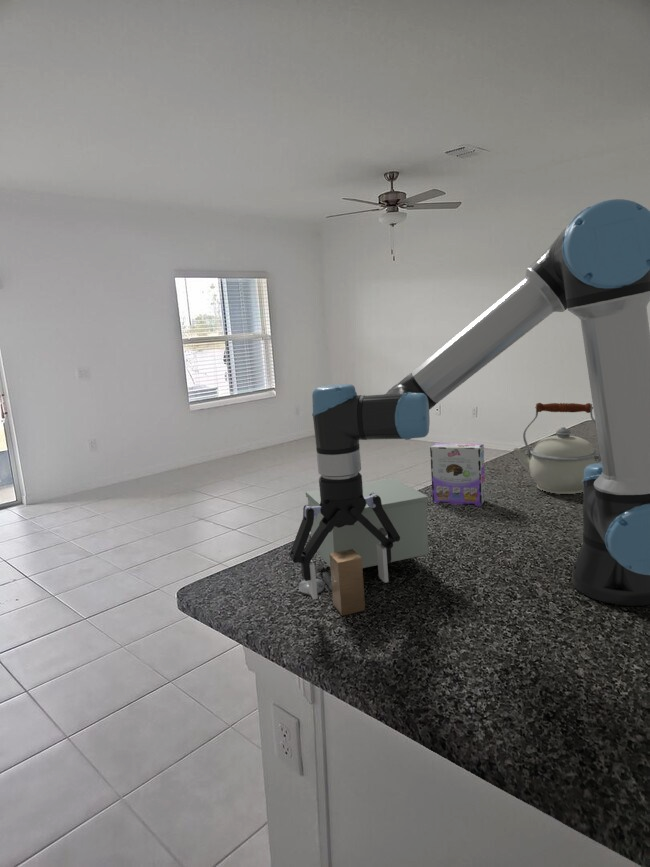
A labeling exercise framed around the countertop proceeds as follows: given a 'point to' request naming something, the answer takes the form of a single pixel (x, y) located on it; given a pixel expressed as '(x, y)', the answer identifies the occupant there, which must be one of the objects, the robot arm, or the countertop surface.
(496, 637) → the countertop surface
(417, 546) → the cabinet
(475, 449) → the candy box
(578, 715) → the countertop surface
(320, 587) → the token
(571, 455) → the kettle
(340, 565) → the block
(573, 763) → the countertop surface
